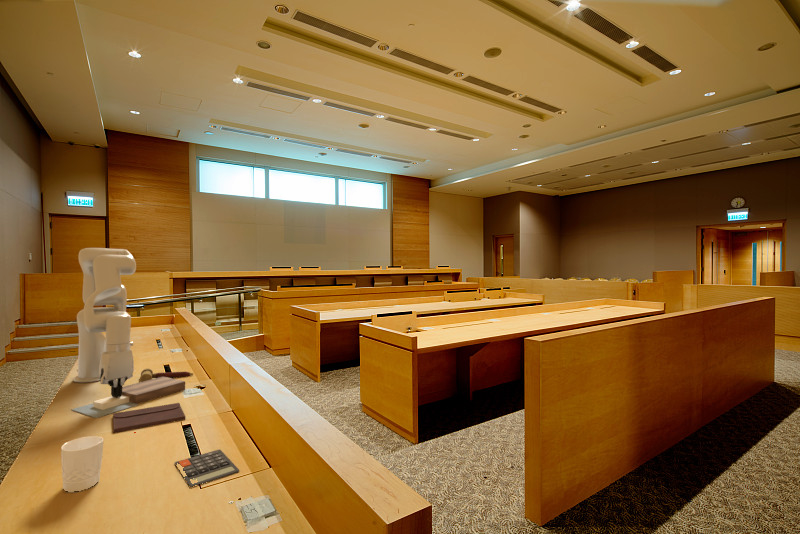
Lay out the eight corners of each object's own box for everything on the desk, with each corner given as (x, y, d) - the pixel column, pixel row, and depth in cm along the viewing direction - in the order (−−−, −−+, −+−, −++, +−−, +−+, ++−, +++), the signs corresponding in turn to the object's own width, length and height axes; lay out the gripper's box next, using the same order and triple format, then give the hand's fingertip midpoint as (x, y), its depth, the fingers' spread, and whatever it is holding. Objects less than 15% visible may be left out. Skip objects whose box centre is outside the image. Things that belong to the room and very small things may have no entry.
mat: (71, 410, 138) (71, 409, 138) (113, 398, 151) (113, 397, 151) (95, 418, 132) (95, 417, 132) (138, 405, 145) (138, 404, 145)
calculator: (219, 448, 112) (239, 469, 101) (219, 451, 112) (239, 473, 101) (174, 461, 104) (190, 486, 93) (174, 465, 104) (190, 490, 93)
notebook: (185, 421, 133) (185, 415, 133) (113, 434, 121) (113, 428, 121) (178, 407, 145) (179, 402, 145) (112, 418, 133) (113, 412, 133)
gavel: (193, 366, 189) (194, 371, 180) (192, 376, 189) (193, 381, 180) (141, 368, 178) (140, 374, 169) (140, 378, 178) (139, 384, 169)
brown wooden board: (113, 398, 151) (113, 389, 151) (163, 384, 170) (163, 376, 170) (135, 404, 146) (136, 395, 146) (185, 389, 164) (185, 381, 164)
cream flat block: (92, 406, 141) (93, 401, 141) (119, 399, 150) (119, 394, 149) (102, 409, 139) (103, 404, 139) (129, 402, 147) (129, 396, 147)
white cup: (76, 476, 97) (77, 435, 97) (110, 475, 98) (111, 435, 98) (50, 494, 89) (52, 451, 89) (87, 494, 90) (88, 450, 90)
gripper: (132, 343, 154) (131, 389, 154) (89, 350, 141) (87, 401, 141) (144, 345, 151) (143, 392, 151) (101, 352, 138) (100, 404, 138)
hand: (116, 396), depth 146 cm, fingers closed
